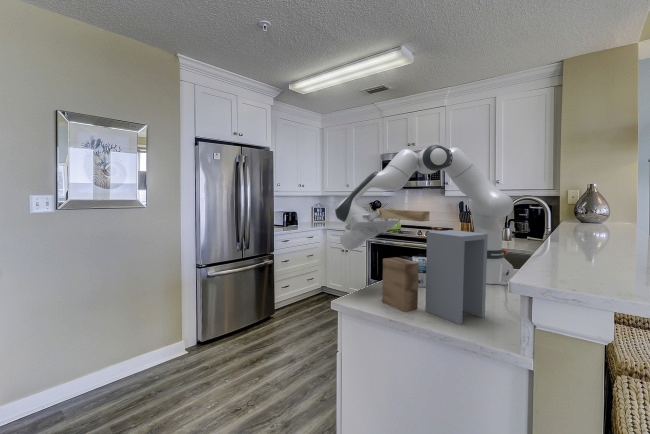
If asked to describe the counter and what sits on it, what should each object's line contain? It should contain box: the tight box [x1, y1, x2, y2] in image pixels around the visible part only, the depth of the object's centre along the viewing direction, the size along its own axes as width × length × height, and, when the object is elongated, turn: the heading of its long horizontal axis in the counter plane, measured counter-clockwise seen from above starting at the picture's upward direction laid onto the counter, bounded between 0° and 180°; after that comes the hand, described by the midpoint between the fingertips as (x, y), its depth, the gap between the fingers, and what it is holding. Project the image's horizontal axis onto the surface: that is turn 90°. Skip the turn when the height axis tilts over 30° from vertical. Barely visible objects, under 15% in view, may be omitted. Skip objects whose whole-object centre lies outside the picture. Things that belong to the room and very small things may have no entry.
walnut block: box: [381, 256, 419, 313], centre depth 110 cm, size 6×11×16 cm, turn 29°
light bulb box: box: [411, 256, 427, 288], centre depth 136 cm, size 11×7×11 cm, turn 168°
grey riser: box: [424, 229, 488, 325], centre depth 102 cm, size 12×13×26 cm
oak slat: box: [376, 208, 430, 223], centre depth 108 cm, size 4×22×3 cm, turn 29°
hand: (385, 211), depth 115 cm, fingers closed on oak slat, 3 cm apart
